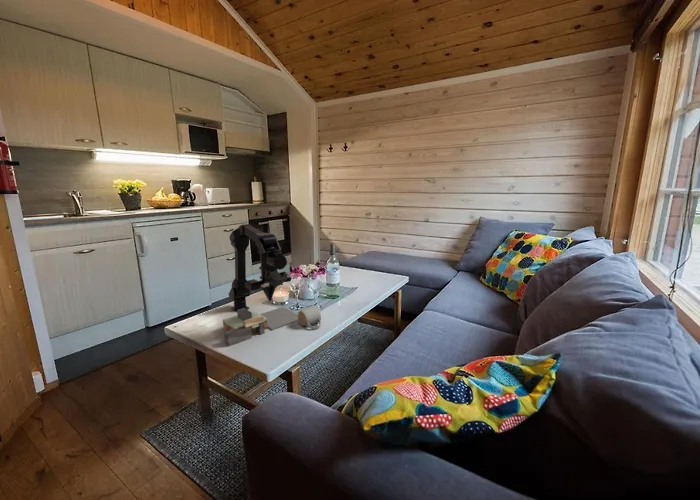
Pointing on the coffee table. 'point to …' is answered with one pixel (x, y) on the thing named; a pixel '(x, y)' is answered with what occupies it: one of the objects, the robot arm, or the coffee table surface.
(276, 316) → the rubber mat
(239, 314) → the toolbox lid
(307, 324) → the ceramic mug
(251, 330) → the toolbox
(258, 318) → the wooden block
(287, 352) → the coffee table surface
